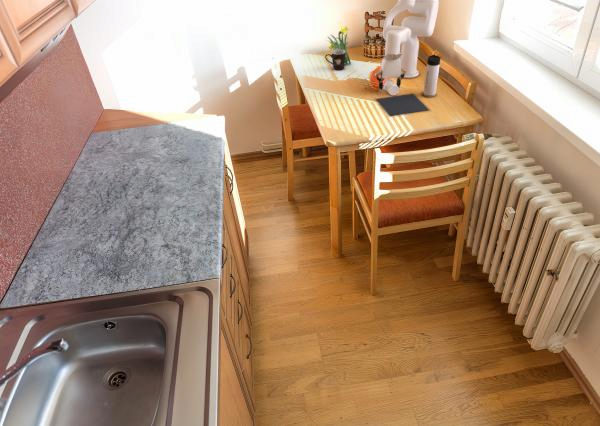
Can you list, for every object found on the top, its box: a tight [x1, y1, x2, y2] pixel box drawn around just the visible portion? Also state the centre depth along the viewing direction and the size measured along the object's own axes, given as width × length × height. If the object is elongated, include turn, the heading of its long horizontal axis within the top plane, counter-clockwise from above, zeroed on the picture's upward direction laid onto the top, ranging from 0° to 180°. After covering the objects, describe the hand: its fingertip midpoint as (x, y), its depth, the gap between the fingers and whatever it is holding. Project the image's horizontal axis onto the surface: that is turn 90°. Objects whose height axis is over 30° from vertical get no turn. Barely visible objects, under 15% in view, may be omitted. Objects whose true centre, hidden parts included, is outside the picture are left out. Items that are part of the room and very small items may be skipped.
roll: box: [383, 79, 400, 96], centre depth 241 cm, size 6×12×6 cm, turn 13°
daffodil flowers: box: [326, 21, 352, 66], centre depth 284 cm, size 17×15×35 cm
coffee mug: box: [324, 49, 346, 71], centre depth 270 cm, size 12×9×10 cm
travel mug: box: [423, 54, 441, 98], centre depth 230 cm, size 6×7×20 cm
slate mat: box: [376, 93, 430, 117], centre depth 229 cm, size 20×20×1 cm
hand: (389, 87), depth 241 cm, fingers open, 9 cm apart
